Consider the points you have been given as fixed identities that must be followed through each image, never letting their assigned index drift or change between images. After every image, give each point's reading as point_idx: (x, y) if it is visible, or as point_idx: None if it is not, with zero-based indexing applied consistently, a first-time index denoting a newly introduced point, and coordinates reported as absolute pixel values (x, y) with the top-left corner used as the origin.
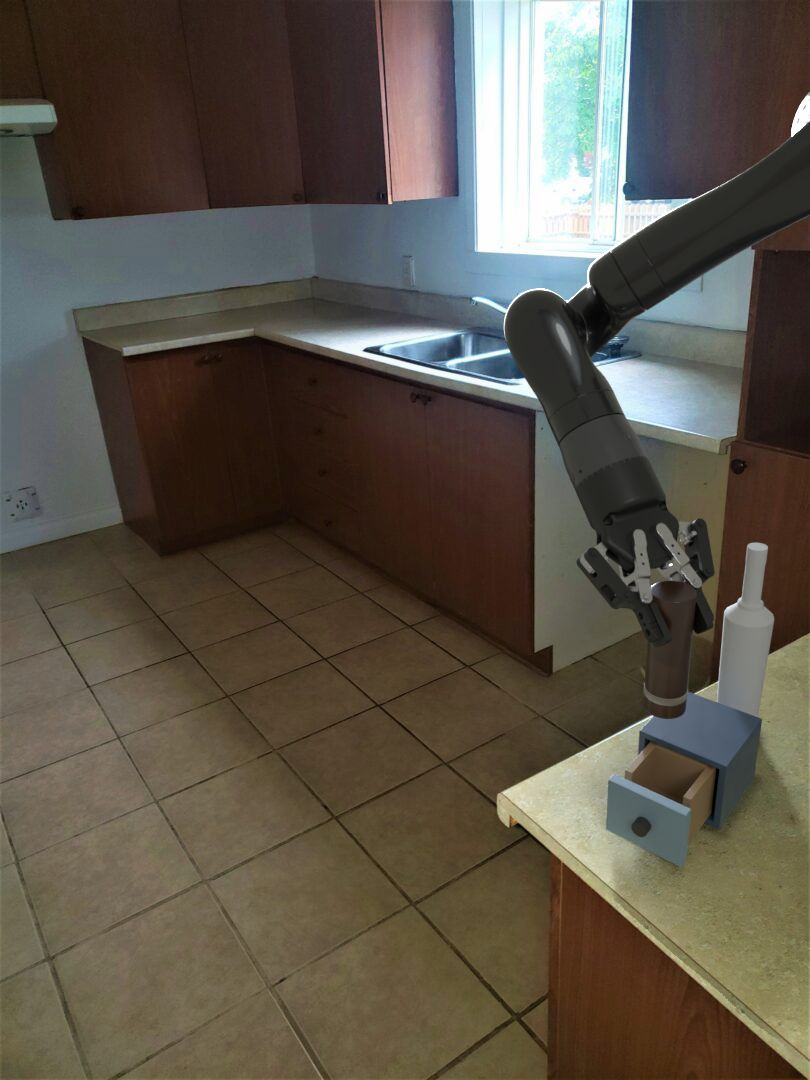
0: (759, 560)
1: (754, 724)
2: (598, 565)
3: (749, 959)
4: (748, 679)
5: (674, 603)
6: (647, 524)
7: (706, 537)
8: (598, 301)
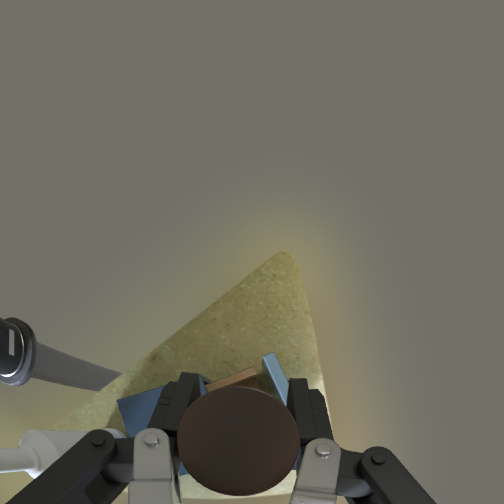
0: None
1: (128, 399)
2: None
3: (277, 288)
4: None
5: (275, 398)
6: None
7: (29, 492)
8: None
